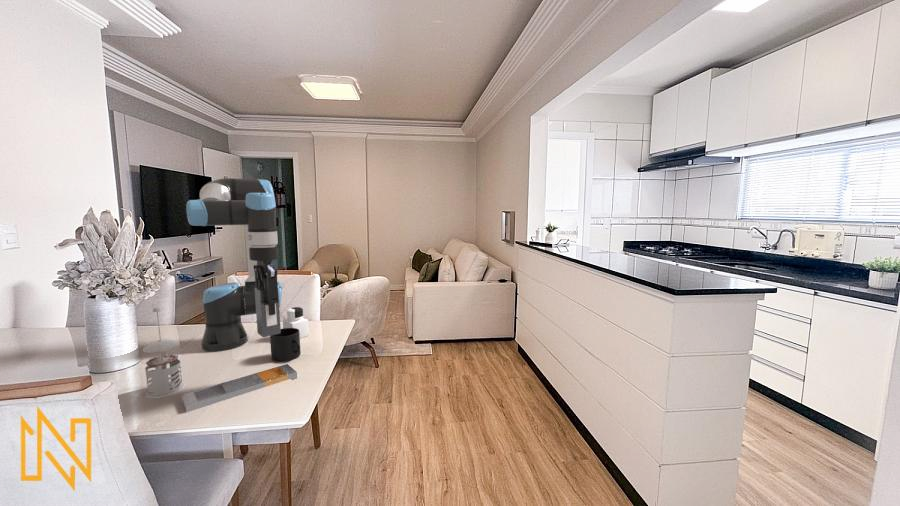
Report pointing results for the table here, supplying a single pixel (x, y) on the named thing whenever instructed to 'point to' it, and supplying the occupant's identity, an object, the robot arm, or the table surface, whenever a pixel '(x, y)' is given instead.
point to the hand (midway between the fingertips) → (268, 322)
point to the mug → (285, 345)
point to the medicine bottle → (296, 321)
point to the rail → (236, 387)
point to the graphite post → (261, 315)
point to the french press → (163, 368)
